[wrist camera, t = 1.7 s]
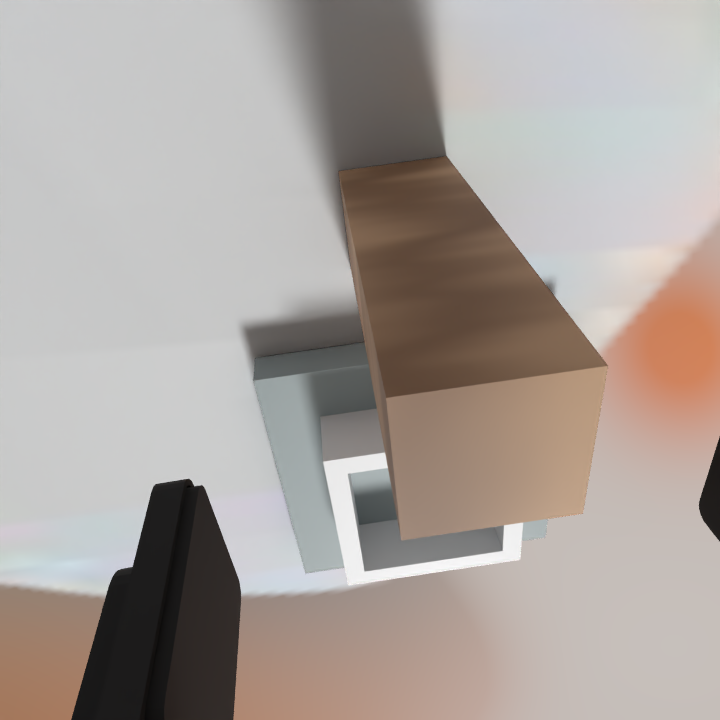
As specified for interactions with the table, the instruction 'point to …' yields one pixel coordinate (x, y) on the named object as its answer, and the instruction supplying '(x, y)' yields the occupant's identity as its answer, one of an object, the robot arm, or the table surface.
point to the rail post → (466, 357)
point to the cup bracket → (354, 474)
